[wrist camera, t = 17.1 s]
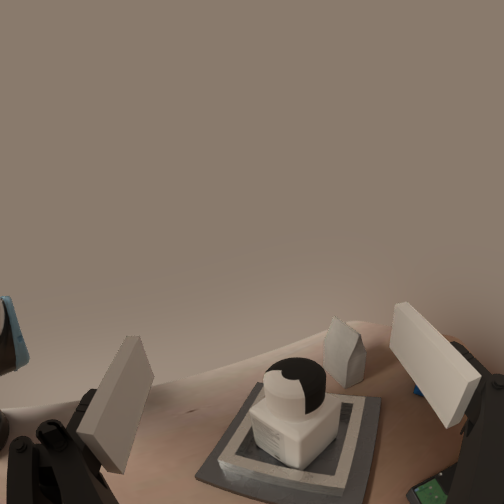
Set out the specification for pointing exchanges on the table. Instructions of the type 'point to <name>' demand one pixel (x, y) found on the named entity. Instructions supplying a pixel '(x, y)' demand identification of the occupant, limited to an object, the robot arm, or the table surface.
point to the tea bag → (344, 354)
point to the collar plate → (290, 480)
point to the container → (295, 413)
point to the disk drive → (433, 488)
